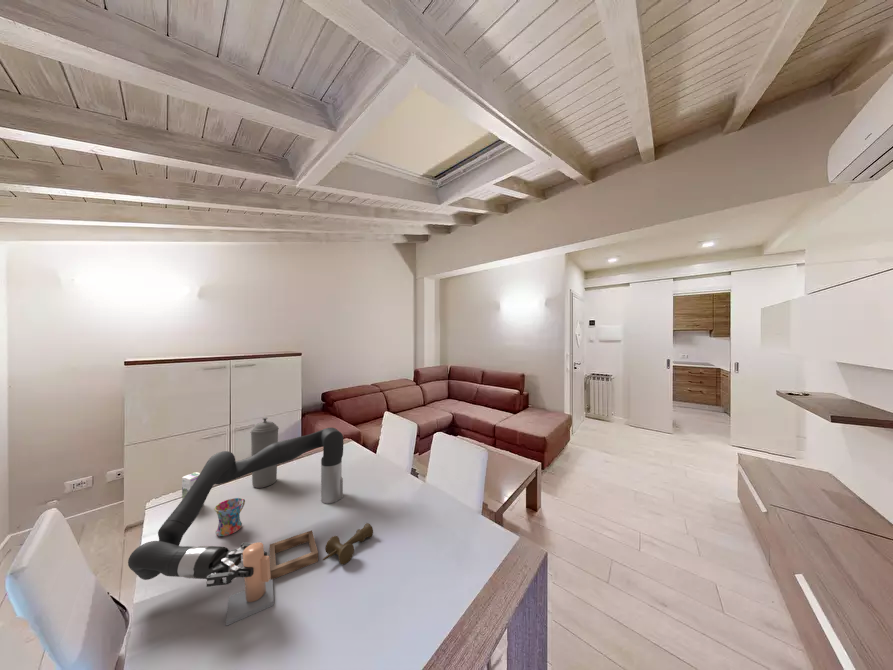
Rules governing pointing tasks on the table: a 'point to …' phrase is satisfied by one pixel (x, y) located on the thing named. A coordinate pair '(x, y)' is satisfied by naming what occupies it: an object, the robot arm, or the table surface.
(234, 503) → the mug
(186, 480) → the syrup box
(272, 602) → the slate mat
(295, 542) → the walnut collar
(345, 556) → the kendama
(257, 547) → the peach cylinder post
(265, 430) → the canister
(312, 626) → the table surface
